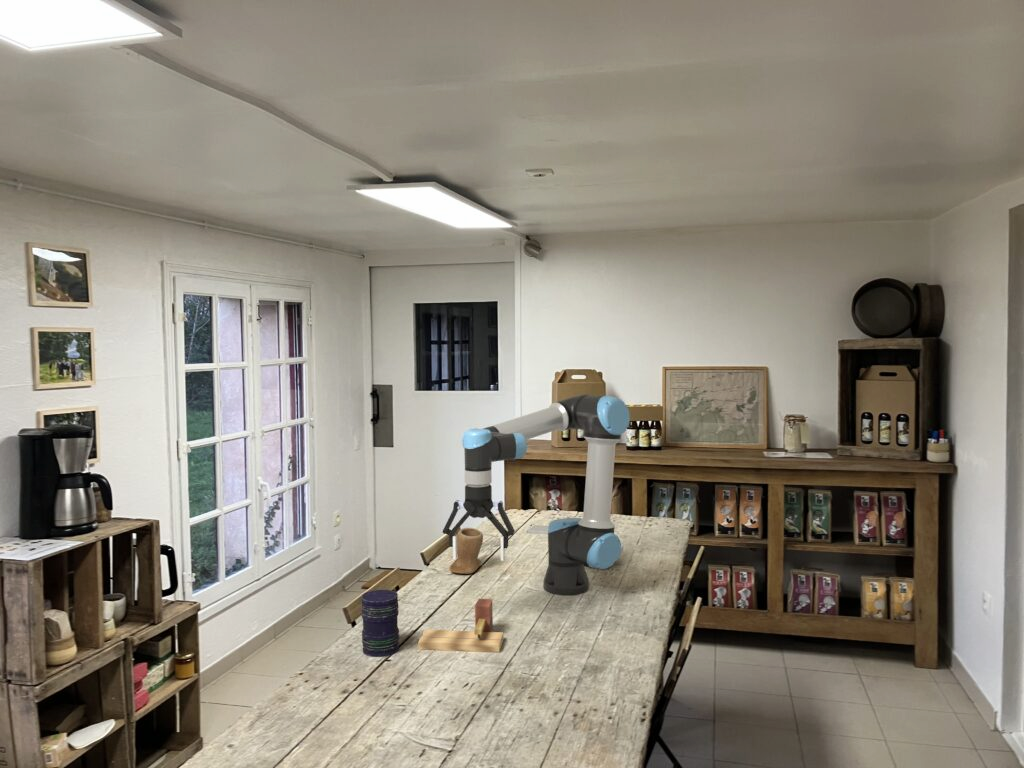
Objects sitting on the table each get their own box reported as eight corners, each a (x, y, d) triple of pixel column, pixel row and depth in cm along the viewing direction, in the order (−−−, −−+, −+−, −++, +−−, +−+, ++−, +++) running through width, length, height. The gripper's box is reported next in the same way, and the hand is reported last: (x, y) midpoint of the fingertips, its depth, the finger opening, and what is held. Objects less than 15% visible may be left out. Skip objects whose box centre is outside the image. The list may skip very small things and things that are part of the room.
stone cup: (478, 577, 277) (478, 534, 276) (445, 575, 279) (445, 533, 278) (489, 564, 292) (488, 524, 291) (458, 563, 294) (457, 523, 293)
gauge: (492, 629, 228) (492, 599, 227) (485, 649, 214) (484, 616, 213) (478, 629, 228) (478, 598, 228) (470, 648, 215) (470, 616, 214)
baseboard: (598, 540, 326) (604, 533, 337) (598, 533, 325) (604, 526, 337) (526, 535, 335) (534, 528, 347) (526, 528, 335) (534, 521, 347)
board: (503, 639, 221) (503, 632, 221) (499, 652, 212) (499, 645, 212) (425, 636, 223) (425, 629, 223) (418, 649, 214) (418, 642, 214)
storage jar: (368, 660, 208) (367, 604, 207) (357, 647, 217) (356, 593, 216) (404, 652, 212) (403, 597, 211) (392, 640, 221) (391, 587, 220)
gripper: (523, 482, 226) (524, 556, 227) (437, 481, 229) (438, 553, 230) (520, 487, 219) (521, 563, 220) (431, 486, 222) (432, 561, 223)
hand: (478, 558), depth 225 cm, fingers open, 13 cm apart
